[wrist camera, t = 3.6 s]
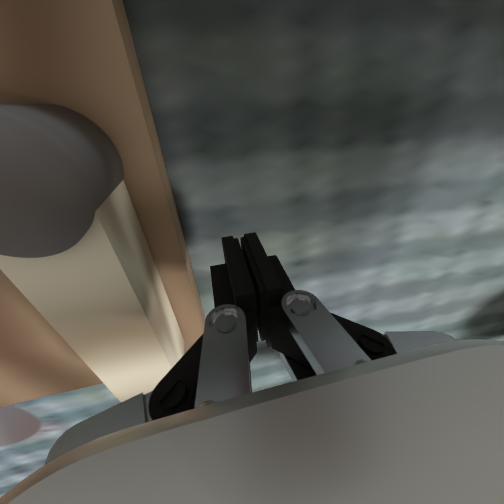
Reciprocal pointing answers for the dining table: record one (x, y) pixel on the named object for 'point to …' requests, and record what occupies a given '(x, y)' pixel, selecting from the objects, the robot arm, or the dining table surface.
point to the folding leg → (82, 247)
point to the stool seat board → (132, 155)
